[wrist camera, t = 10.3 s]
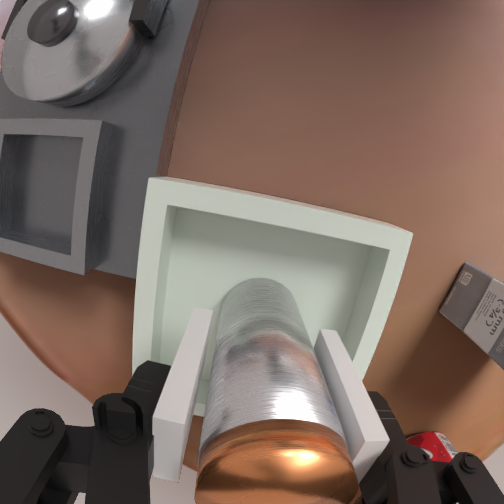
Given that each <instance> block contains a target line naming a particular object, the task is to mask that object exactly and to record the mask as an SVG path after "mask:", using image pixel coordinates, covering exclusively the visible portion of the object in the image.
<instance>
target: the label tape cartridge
mask: <svg viewBox="0 0 504 504" xmlns="http://www.w3.org/2000/svg"><path fill="white" fill-rule="evenodd" d="M439 312H440V313H441V314H442V315H443V316H444V317H446V318H447V319H448V320H450V321H451V322H452V323H453V324H454V325H456V326H457V327H458V328H459V329H460V330H462V331H463V332H464V333H465V334H466V335H467V336H468V337H469V338H470V339H472V340H473V341H474V342H475V343H476V344H477V345H478V346H479V347H480V348H481V349H482V350H483V351H485V352H486V353H487V354H488V355H489V356H490V357H491V358H492V359H493V360H494V361H495V362H496V363H497V364H498V365H499V366H500V367H501V368H502V369H503V370H504V283H502V282H501V281H499V280H497V279H495V278H493V277H491V276H490V275H488V274H486V273H484V272H482V271H481V270H479V269H477V268H475V267H473V266H472V265H470V264H469V263H467V262H465V263H464V265H463V267H462V269H461V271H460V272H459V274H458V276H457V278H456V280H455V282H454V284H453V286H452V288H451V289H450V291H449V293H448V295H447V297H446V298H445V300H444V302H443V304H442V305H441V307H440V309H439Z"/></svg>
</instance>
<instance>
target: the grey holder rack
mask: <svg viewBox="0 0 504 504" xmlns="http://www.w3.org/2000/svg"><path fill="white" fill-rule="evenodd" d="M209 1H210V0H17V1H16V3H15V6H14V8H13V10H12V12H11V15H10V17H9V20H8V22H7V25H6V27H5V30H4V32H3V35H2V38H1V39H4V40H5V42H4V45H3V50H2V58H1V72H0V252H3V253H6V254H9V255H13V256H16V257H19V258H23V259H26V260H30V261H33V262H36V263H40V264H44V265H47V266H51V267H54V268H58V269H62V270H65V271H69V272H73V273H77V274H80V275H86V274H87V273H89V272H90V271H92V270H93V269H95V270H99V271H103V272H107V273H112V274H116V275H120V276H124V277H129V278H133V279H136V276H137V265H138V255H139V245H140V237H141V228H142V220H143V213H144V206H145V199H146V192H147V186H148V179H149V178H151V177H167V172H168V166H169V161H170V156H171V150H172V145H173V140H174V135H175V130H176V126H177V121H178V116H179V112H180V107H181V103H182V99H183V94H184V90H185V86H186V82H187V78H188V74H189V70H190V66H191V63H192V59H193V55H194V51H195V48H196V44H197V41H198V37H199V34H200V30H201V27H202V24H203V20H204V17H205V14H206V11H207V8H208V4H209Z"/></svg>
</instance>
